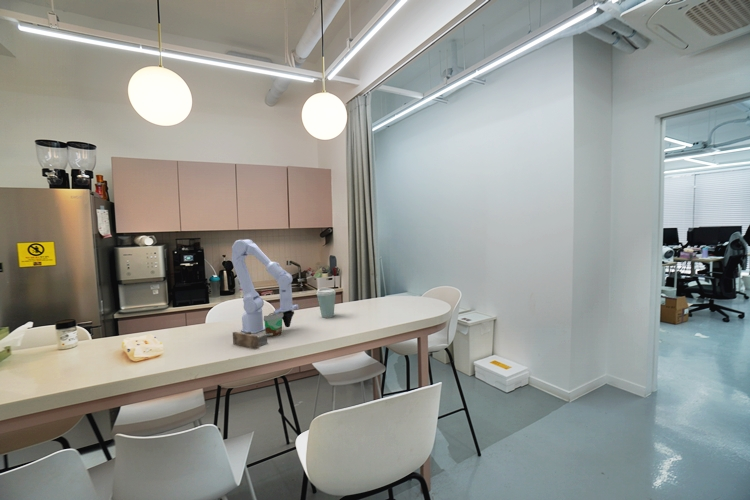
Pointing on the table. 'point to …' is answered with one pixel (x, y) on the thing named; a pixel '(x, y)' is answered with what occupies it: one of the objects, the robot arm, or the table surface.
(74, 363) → the table surface
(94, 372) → the table surface
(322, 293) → the disposable coffee cup
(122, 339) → the table surface
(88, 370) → the table surface
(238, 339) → the holder bay
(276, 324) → the food container
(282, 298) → the robot arm
